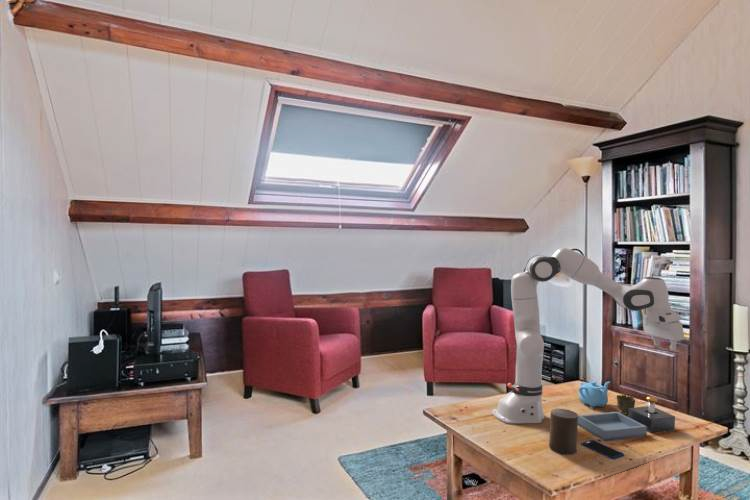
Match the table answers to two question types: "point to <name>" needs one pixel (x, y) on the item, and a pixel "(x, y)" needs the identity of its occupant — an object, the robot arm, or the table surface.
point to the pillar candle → (563, 431)
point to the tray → (612, 426)
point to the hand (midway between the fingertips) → (665, 347)
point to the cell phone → (603, 449)
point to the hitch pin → (651, 404)
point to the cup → (625, 403)
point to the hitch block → (653, 419)
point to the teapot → (593, 394)
